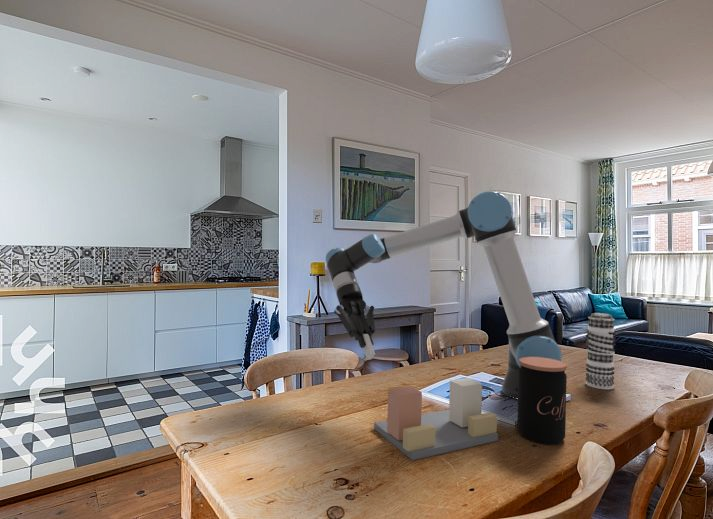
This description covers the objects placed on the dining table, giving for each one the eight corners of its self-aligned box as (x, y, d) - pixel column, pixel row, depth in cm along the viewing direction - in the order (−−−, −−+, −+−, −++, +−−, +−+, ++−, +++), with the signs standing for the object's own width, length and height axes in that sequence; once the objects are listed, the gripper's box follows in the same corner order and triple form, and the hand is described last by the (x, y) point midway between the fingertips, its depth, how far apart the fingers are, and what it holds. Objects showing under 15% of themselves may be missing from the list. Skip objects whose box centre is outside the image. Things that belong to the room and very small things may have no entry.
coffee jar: (537, 448, 91) (539, 368, 91) (507, 428, 101) (509, 357, 101) (576, 443, 94) (577, 366, 94) (543, 425, 104) (544, 355, 104)
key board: (372, 428, 99) (372, 406, 99) (452, 414, 110) (453, 394, 110) (410, 460, 84) (410, 434, 84) (499, 440, 94) (500, 416, 94)
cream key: (448, 419, 101) (449, 380, 101) (467, 416, 104) (468, 377, 104) (462, 427, 97) (463, 386, 97) (481, 423, 99) (482, 383, 99)
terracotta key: (387, 431, 93) (388, 388, 93) (408, 427, 96) (409, 385, 96) (398, 440, 89) (399, 395, 89) (420, 436, 91) (421, 392, 91)
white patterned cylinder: (606, 382, 144) (608, 312, 144) (620, 390, 134) (622, 316, 134) (579, 380, 144) (581, 311, 145) (592, 389, 135) (593, 315, 135)
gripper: (361, 297, 130) (385, 362, 115) (324, 297, 124) (344, 365, 109) (370, 282, 125) (396, 348, 111) (332, 281, 119) (355, 350, 104)
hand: (371, 356), depth 110 cm, fingers closed
